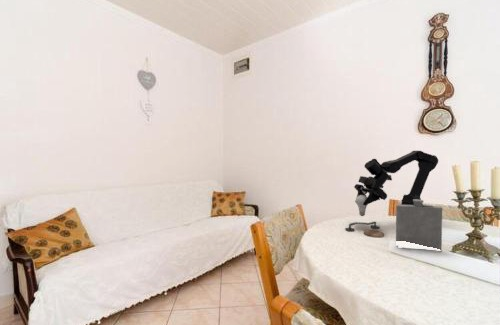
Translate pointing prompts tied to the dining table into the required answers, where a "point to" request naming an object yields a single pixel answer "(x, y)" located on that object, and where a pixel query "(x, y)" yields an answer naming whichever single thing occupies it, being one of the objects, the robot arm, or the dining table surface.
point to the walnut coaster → (374, 233)
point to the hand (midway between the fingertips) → (359, 203)
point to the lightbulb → (361, 204)
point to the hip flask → (419, 224)
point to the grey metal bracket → (362, 223)
